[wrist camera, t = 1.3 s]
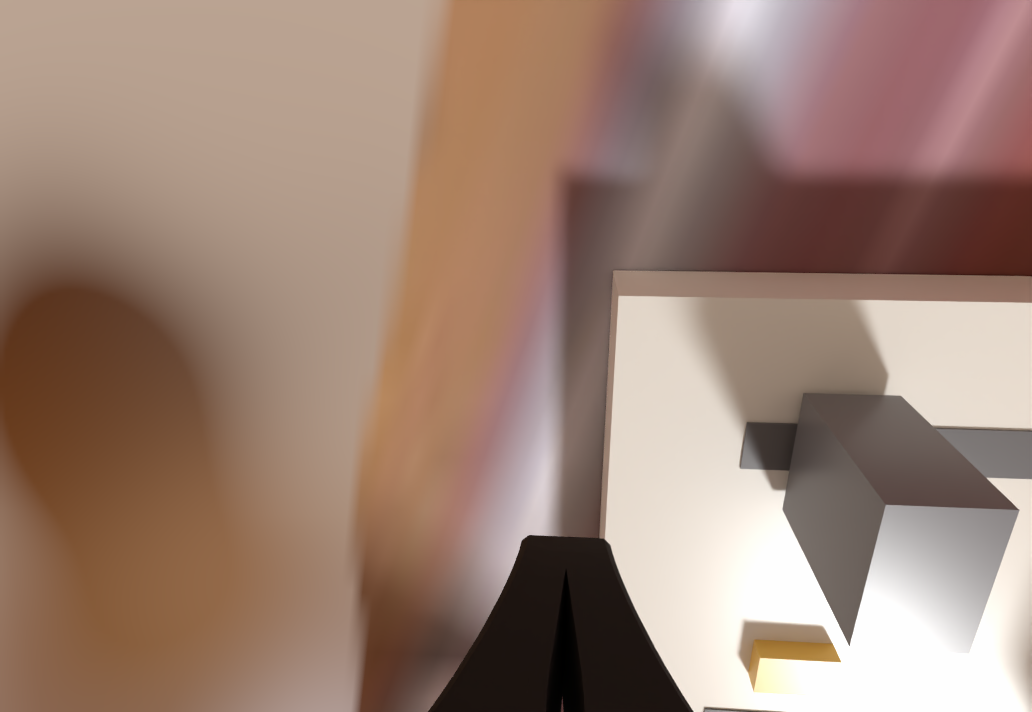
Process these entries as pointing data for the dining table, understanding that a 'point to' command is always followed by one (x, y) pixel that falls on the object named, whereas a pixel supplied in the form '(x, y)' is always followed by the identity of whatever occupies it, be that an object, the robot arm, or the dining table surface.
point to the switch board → (766, 463)
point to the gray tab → (894, 523)
